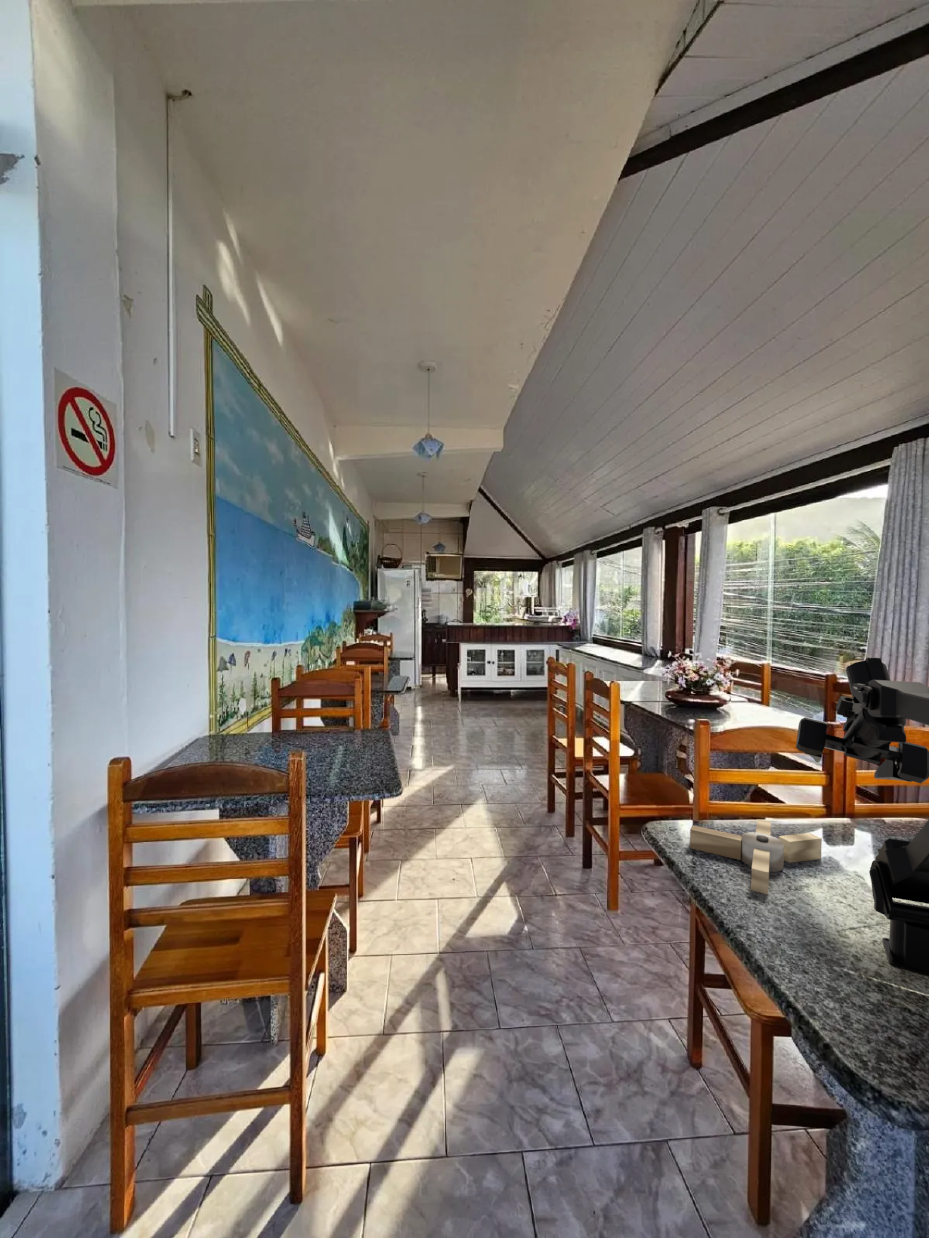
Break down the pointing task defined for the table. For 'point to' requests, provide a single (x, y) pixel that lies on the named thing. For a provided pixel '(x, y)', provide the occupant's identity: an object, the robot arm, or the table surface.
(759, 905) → the table surface
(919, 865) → the robot arm
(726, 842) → the stool base
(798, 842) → the folding leg
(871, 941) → the table surface
